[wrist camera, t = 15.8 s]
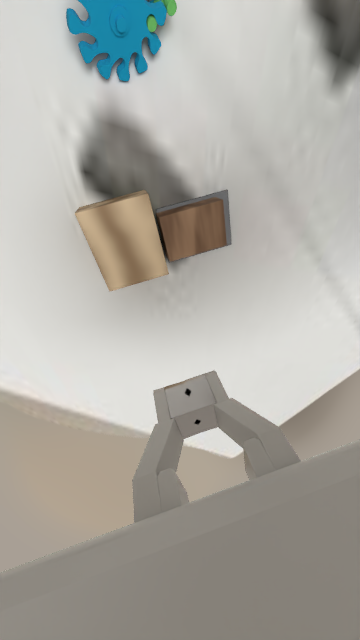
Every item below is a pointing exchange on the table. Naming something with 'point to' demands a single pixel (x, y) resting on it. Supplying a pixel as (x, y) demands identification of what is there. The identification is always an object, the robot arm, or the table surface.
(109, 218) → the oak step
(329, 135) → the table surface
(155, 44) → the blue lobed piece
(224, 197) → the felt pad
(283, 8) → the table surface
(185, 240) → the walnut slab
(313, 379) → the table surface
